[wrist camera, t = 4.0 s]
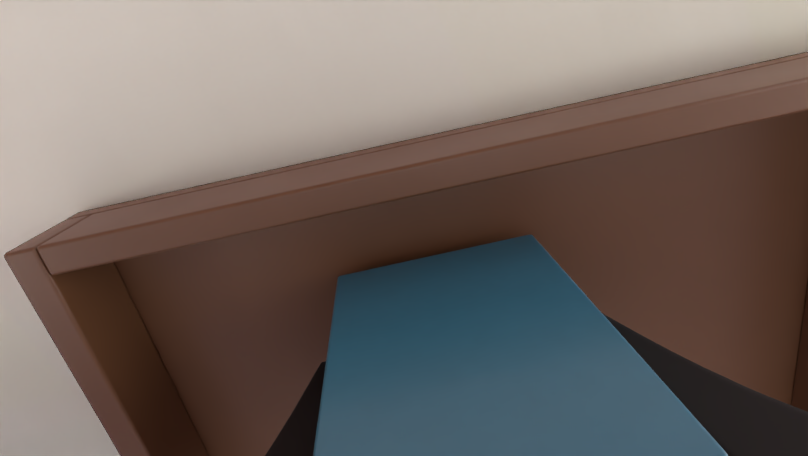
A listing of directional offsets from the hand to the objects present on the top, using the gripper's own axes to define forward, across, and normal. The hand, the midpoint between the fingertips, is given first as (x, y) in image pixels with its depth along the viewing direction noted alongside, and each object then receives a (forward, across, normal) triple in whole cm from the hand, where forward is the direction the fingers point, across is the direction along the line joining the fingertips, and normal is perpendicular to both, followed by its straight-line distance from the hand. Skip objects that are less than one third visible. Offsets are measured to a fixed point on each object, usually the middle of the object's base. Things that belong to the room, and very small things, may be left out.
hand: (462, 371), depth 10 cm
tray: (+2, -1, +2) cm, 3 cm away
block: (+1, 0, 0) cm, 1 cm away
